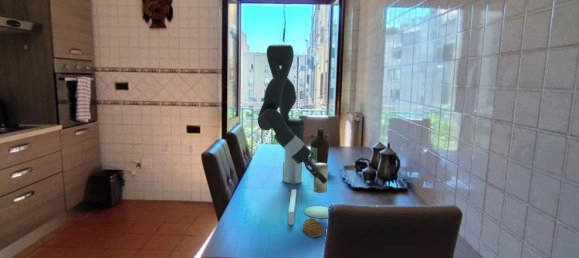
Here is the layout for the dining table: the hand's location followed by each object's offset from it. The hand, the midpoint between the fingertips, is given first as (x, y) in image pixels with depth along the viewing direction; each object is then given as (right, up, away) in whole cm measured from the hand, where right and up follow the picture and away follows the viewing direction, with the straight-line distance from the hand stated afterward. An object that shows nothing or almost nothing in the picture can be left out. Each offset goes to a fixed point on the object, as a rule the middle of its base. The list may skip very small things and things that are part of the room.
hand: (325, 179), depth 145 cm
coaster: (-2, -14, +2) cm, 14 cm away
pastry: (-6, -17, -15) cm, 23 cm away
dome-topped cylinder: (-2, -5, +1) cm, 5 cm away
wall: (-13, -13, +3) cm, 19 cm away
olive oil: (+2, -4, +65) cm, 65 cm away
